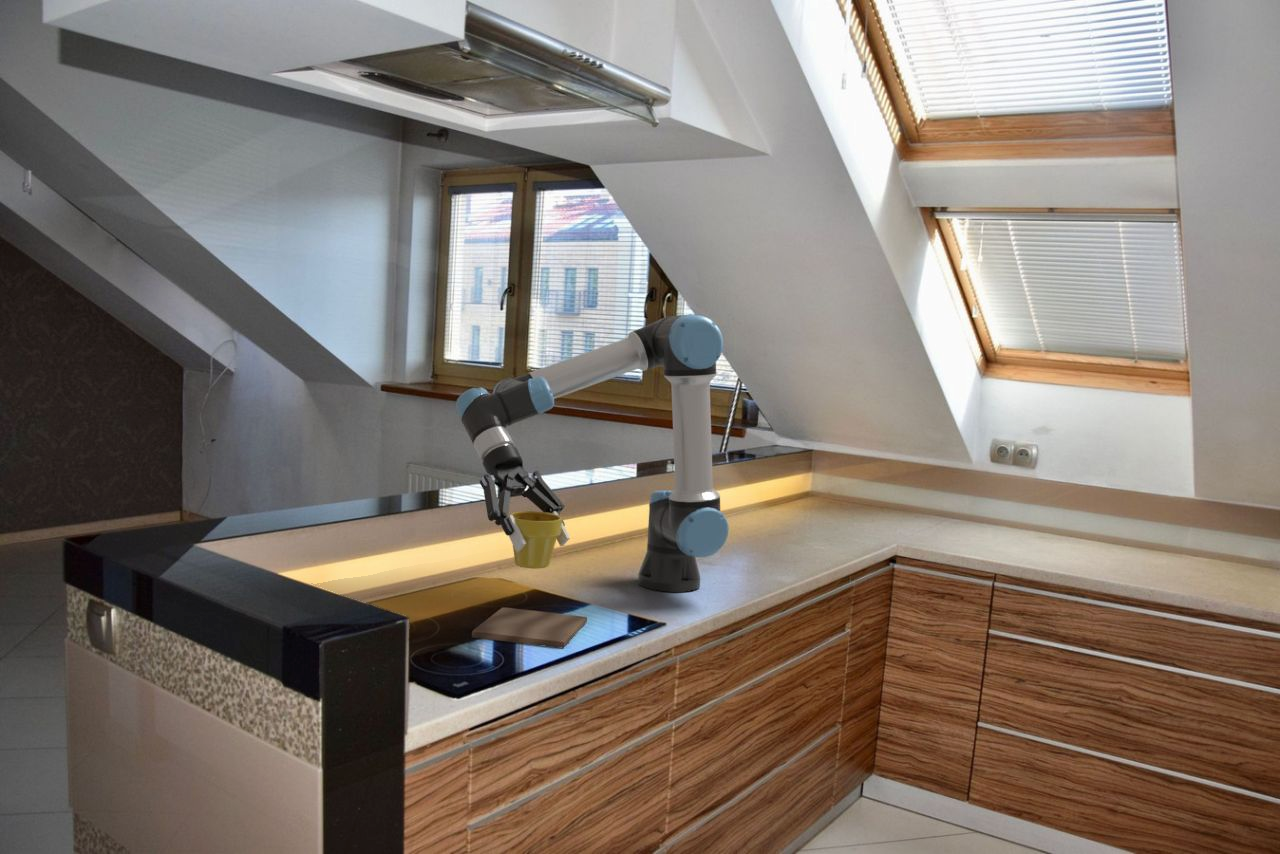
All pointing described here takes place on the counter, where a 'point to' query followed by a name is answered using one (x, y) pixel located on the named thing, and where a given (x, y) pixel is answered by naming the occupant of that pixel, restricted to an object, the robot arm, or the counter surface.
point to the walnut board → (530, 627)
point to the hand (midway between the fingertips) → (543, 544)
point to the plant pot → (536, 538)
